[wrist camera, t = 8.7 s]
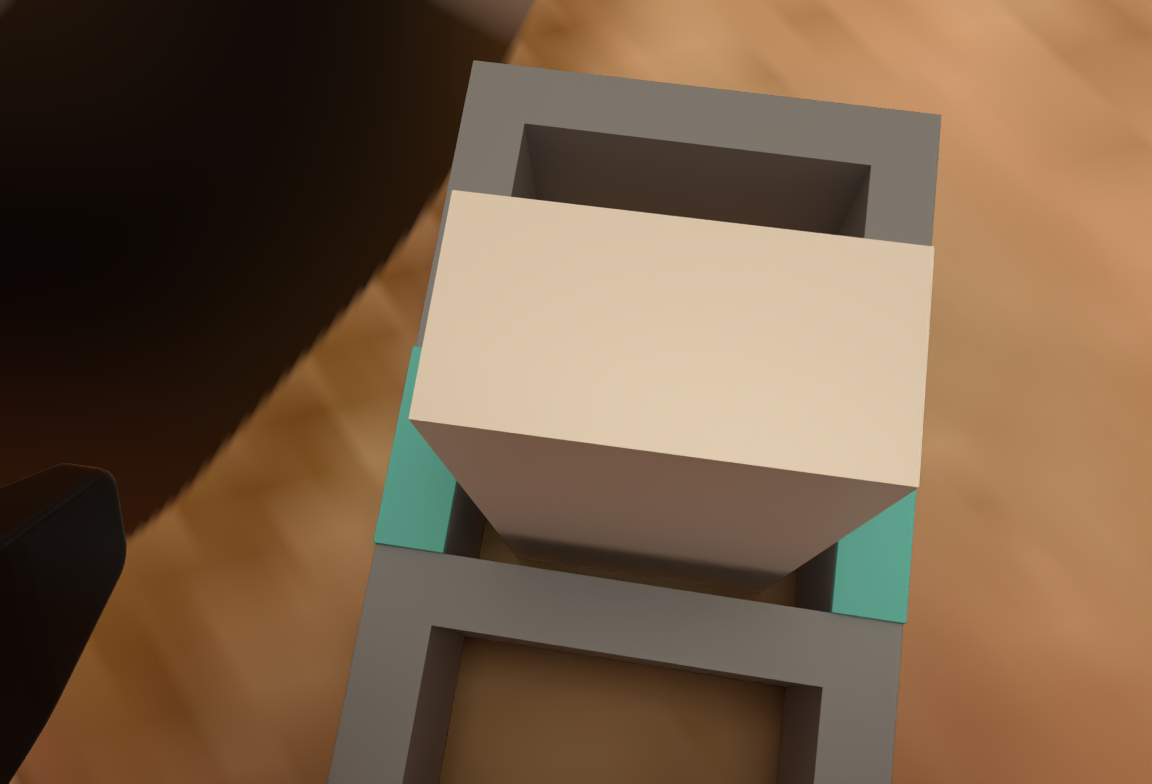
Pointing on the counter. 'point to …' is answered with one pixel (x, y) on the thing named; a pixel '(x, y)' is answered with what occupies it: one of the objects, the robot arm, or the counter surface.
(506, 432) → the block
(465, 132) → the frame
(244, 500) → the counter surface
